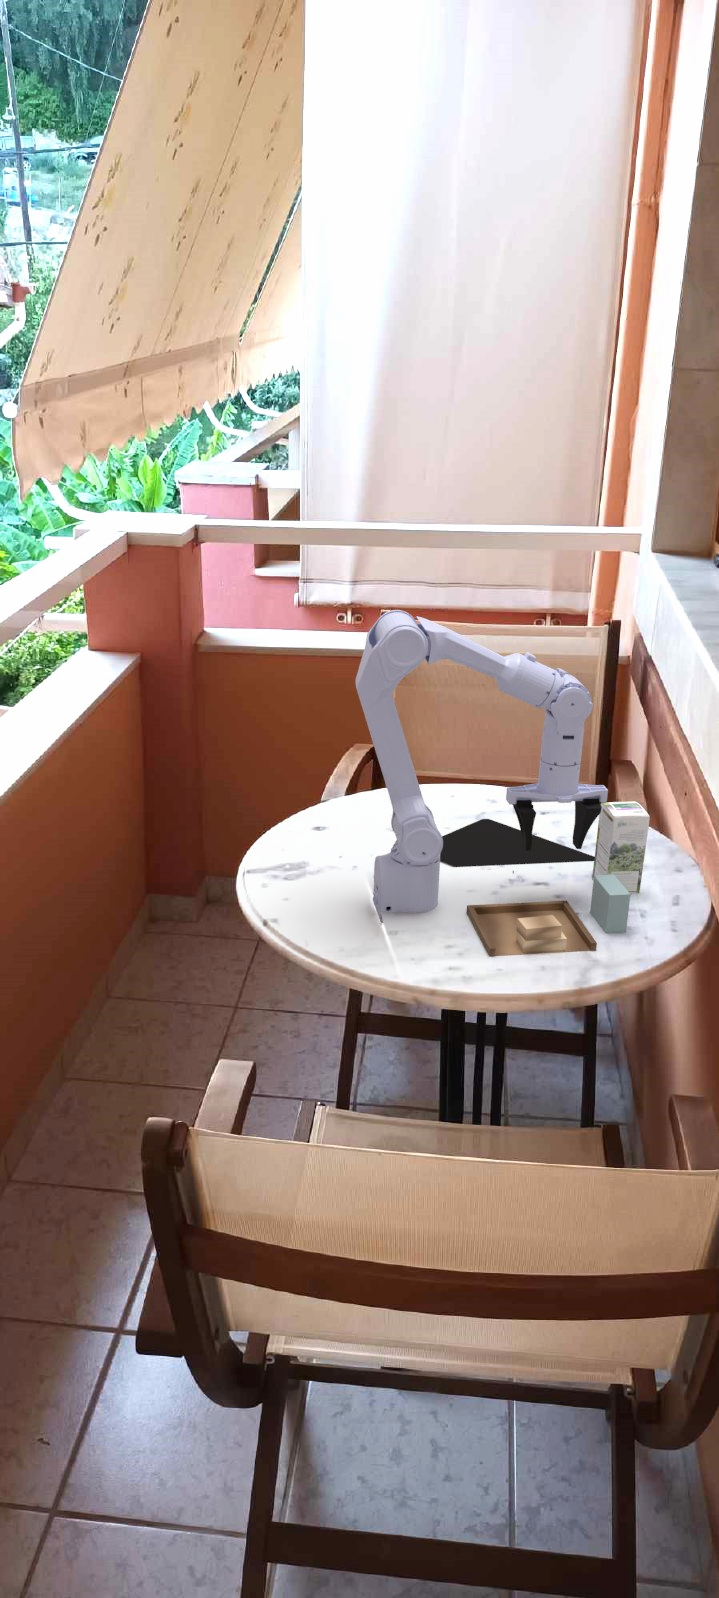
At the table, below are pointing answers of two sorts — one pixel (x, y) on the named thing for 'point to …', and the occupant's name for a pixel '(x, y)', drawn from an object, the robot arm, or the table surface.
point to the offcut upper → (539, 927)
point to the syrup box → (622, 843)
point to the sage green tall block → (610, 903)
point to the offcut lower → (542, 944)
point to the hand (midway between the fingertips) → (551, 847)
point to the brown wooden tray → (501, 919)
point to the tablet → (501, 847)
